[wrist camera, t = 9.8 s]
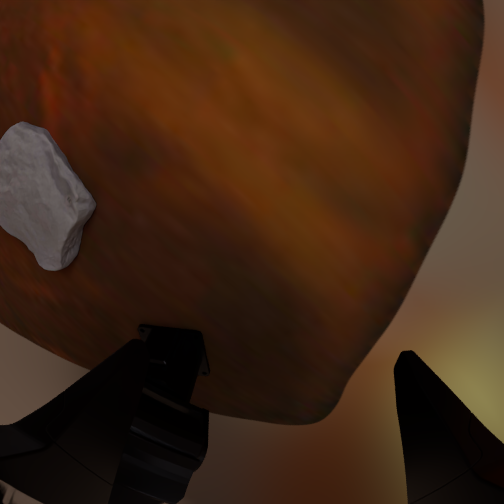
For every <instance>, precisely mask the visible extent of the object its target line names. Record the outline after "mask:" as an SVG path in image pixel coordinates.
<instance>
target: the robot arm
mask: <svg viewBox="0 0 504 504" xmlns="http://www.w3.org/2000/svg"><path fill="white" fill-rule="evenodd" d="M138 332H139V334H140V337H141V339H142V340H139V339H132V340H130V341H129V342H128V343H126V344H125V345H124V346H122V347H121V348H120V349H118V350H117V351H116V352H115V353H113V354H112V355H111V356H109V357H108V358H107V359H105V360H104V361H103V362H101V363H100V364H99V365H97V366H96V367H95V368H93V369H92V370H91V371H90V372H88V373H87V374H86V375H84V376H83V377H82V378H80V379H79V380H78V381H76V382H75V383H74V384H72V385H71V386H70V387H68V388H67V389H66V390H65V391H63V392H62V393H61V394H59V395H58V396H57V397H55V398H54V399H52V400H51V401H50V402H48V403H47V404H45V405H44V406H42V407H41V408H39V409H37V410H36V411H34V412H33V413H31V414H29V415H27V416H26V417H24V418H22V419H21V420H19V421H17V422H15V423H13V424H10V425H0V504H163V503H164V502H165V503H168V504H176V503H177V502H179V501H180V500H181V499H182V498H183V497H184V495H185V492H186V489H187V486H188V483H189V481H190V478H191V476H192V474H193V472H194V471H196V470H197V469H198V468H199V467H200V466H201V464H202V462H203V460H204V458H205V455H206V452H207V448H208V424H209V423H208V422H209V411H208V410H206V409H204V408H203V409H201V408H199V407H197V406H195V405H192V404H190V399H191V396H192V392H193V389H194V386H195V382H196V379H197V375H200V376H208V375H209V373H210V369H209V364H208V359H207V355H206V350H205V345H204V340H203V335H202V333H201V332H200V331H197V330H188V329H178V328H169V327H160V326H152V325H145V324H141V325H139V327H138ZM394 380H395V393H396V407H397V414H398V420H399V426H400V433H401V440H402V446H403V455H404V463H405V472H406V484H407V496H408V504H504V444H503V443H502V442H501V441H500V440H499V439H498V438H497V437H496V436H495V435H493V434H492V433H491V432H490V431H489V430H488V429H487V428H486V427H485V426H484V425H483V424H482V423H481V422H480V421H479V420H478V419H477V418H476V417H475V415H474V414H473V413H471V411H470V410H469V409H468V408H467V407H466V406H465V405H464V403H463V402H462V401H461V400H460V399H459V398H458V397H457V396H456V395H455V394H454V393H453V392H452V391H451V389H450V388H449V387H448V386H447V385H446V384H445V383H444V382H443V381H442V380H441V379H440V378H439V377H438V376H437V375H436V374H435V373H434V372H433V371H432V370H431V369H430V368H429V367H428V366H427V365H426V363H424V362H423V361H422V359H421V358H420V357H418V355H416V353H415V352H414V351H412V350H410V351H402V352H401V353H400V355H399V357H398V360H397V362H396V364H395V366H394Z"/></svg>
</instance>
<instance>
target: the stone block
mask: <svg viewBox="0 0 504 504" xmlns="http://www.w3.org/2000/svg"><path fill="white" fill-rule="evenodd" d="M95 207H96V202H95V201H94V199H93V197H92V195H91V194H90V193H89V192H88V190H87V189H86V188H85V187H84V185H83V183H82V182H81V180H80V179H79V177H78V176H77V175H76V173H74V172H73V170H72V168H71V166H70V164H69V163H68V161H67V158H66V156H65V155H64V154H63V153H62V151H61V150H60V148H59V147H58V145H57V144H56V142H55V141H54V140H53V139H52V137H51V135H50V133H49V132H48V131H47V130H46V129H44V128H40V127H37V126H34V125H31V124H29V123H27V122H23V121H22V122H20V123H17V124H16V125H14V126H12V127H11V128H10V129H8V131H7V132H6V133H5V134H4V136H3V137H2V139H1V140H0V225H1V226H2V227H3V229H5V230H6V231H7V232H8V233H9V234H11V235H13V236H15V237H17V238H18V239H20V240H21V241H22V242H24V243H25V244H26V245H27V247H28V249H29V250H30V251H32V252H33V253H34V255H35V257H36V259H37V262H38V264H39V265H40V266H41V267H43V268H44V269H46V270H52V271H56V270H60V269H63V268H65V267H67V266H68V265H69V264H70V263H71V262H72V261H73V259H74V258H75V257H76V256H77V254H78V251H79V246H80V243H81V237H82V233H83V230H82V229H83V227H84V224H85V223H86V222H87V220H88V219H89V218H90V217H91V215H92V213H93V211H94V210H95Z"/></svg>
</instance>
